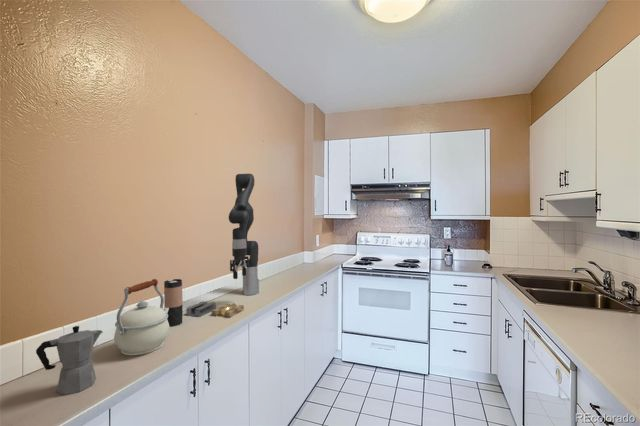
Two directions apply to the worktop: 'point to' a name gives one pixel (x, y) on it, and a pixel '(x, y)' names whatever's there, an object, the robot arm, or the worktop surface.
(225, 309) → the axle
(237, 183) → the robot arm
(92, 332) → the coffeepot
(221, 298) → the worktop surface
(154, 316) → the kettle
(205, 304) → the v block
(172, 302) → the travel mug
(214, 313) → the parallel bars
